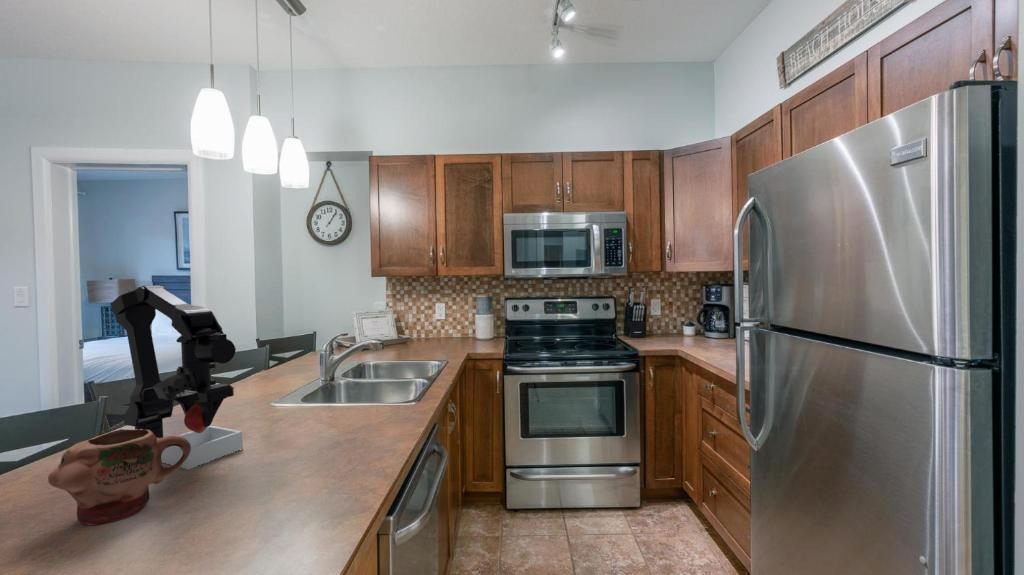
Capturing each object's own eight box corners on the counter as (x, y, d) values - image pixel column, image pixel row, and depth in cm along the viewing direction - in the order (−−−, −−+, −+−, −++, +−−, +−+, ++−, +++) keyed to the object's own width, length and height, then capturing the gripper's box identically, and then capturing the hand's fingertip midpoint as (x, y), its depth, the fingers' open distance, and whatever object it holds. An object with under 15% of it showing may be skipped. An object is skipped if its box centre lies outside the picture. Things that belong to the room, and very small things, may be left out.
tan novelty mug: (188, 480, 95) (184, 415, 94) (197, 500, 86) (193, 428, 85) (53, 516, 81) (49, 441, 81) (47, 545, 72) (42, 460, 72)
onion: (198, 438, 105) (197, 404, 105) (178, 436, 106) (177, 403, 106) (219, 429, 111) (218, 397, 110) (200, 428, 112) (198, 396, 112)
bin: (156, 461, 105) (155, 442, 105) (211, 442, 117) (210, 425, 117) (188, 469, 100) (187, 449, 100) (243, 449, 112) (242, 431, 111)
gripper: (135, 364, 105) (138, 430, 105) (183, 370, 97) (186, 441, 97) (187, 356, 115) (189, 416, 115) (234, 361, 107) (236, 425, 107)
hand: (199, 424), depth 108 cm, fingers closed on onion, 6 cm apart
